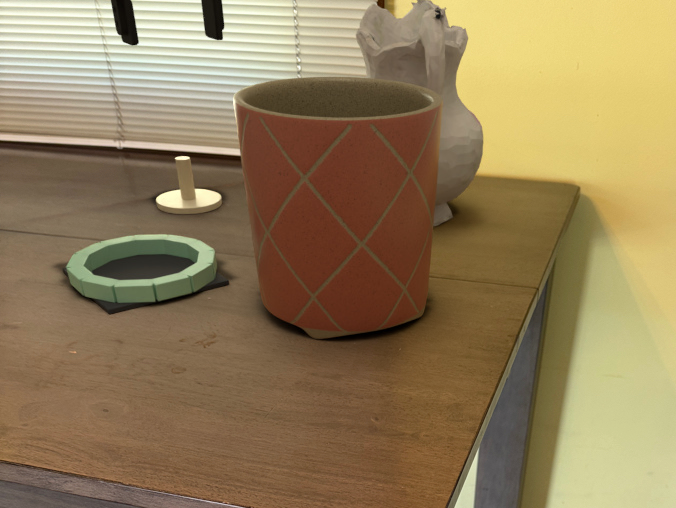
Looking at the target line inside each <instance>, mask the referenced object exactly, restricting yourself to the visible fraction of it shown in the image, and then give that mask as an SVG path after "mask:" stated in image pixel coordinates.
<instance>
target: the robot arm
mask: <svg viewBox="0 0 676 508" xmlns="http://www.w3.org/2000/svg"><path fill="white" fill-rule="evenodd" d="M200 4H201V10H202V12H201V13H202V18H203V27H204V35H205V37H207V38H208V39H211V40H215V41H223V40H224V33H223V31H224V30H225V18H224V8H223V0H200ZM110 5H111V9H112V15H113V20H114V25H115V30H116V33H117V35H118V36H120V37H121V41H122V42H123V43H124V44H127V45H130V46H138V44H139V43H140V41H139V40H140V39H139V35H138V29H137V22H136V16H135V11H134V6H133V5H134V4H133V1H132V0H110Z"/></svg>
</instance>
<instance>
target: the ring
mask: <svg viewBox="0 0 676 508" xmlns="http://www.w3.org/2000/svg"><path fill="white" fill-rule="evenodd" d="M155 254H167V255H173V256H178V257H183V258H189V259H190V260H192V261H193V262H195V264H193V265H192V266H190V267H188V268H187V269H185V270H183V271H181V272H180V273H176V274H172V275H168V276H163V277H159V278H155V279H141V280H116V279H111V278H106V277H101V276H96V275H93V274H92V270H94V269H96V268H98V267H100V266H102V265H104V264H106V263H108V262H110V261H112V260H117V259H121V258H126V257H131V256H135V255H155ZM217 267H218V263H217V255H216V251H215V249H214V248H213V247H211V246H210V245H208V244H207V243H205V242H203V241H201V240H200V239H197V238H194V237H187V236H183V235H182V236H181V235H177V234H167V233H159V234H157V233H156V234H155V233H154V234H133V235H126V236H120V237H115V238H110V239H106V240H101V241H99V242H95V243H93V244H90V245H88V246H85V247H84V248H83V249H80V250H78V251H76V252H74V253H73V254H72V255H71V257H70V259H69V261H68V263H67V264H66V265H65V268H66V269H67V273H68V276H69V277H68V276H67V277H68V279H69V283H70V285H71V286H72V287H74V289H75V290H76V291H77V292H78V293H80V294H81V295H82V296H84V297H86V298H91V299H92V298H94V299H99V300H104V301H108V302H113V303H115V302H118V303H134V302H155V301H156V299H157V300H158V301H160V302H162V301H161V300H164V301H166V300H165V299H168V300H170V299H169V298H172V299H174V298H173V297H176V298H178V297H177V296H180V297H182V296H181V295H184V296H186V295H185V294H188V295H190V294H189V293H192V292H195V291H197V290H199V289H200V288H202V287H203V286H205V285H207V284H208V283H210V282H211V281H213V280H214V278H215V276H216V272H217V269H218V268H217ZM192 294H193V293H192Z"/></svg>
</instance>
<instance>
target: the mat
mask: <svg viewBox="0 0 676 508" xmlns="http://www.w3.org/2000/svg"><path fill="white" fill-rule="evenodd" d="M193 264H195V262H193V261H192V260H190V259H189V258H183V257H178V256H173V255H167V254H155V255H135V256H131V257H126V258H121V259H117V260H112V261H110V262H108V263H106V264H104V265H102V266H100V267H98V268H96V269H94V270H92V274H93V275H96V276H101V277H106V278H111V279H116V280H141V279H155V278H159V277H163V276H168V275H172V274H176V273H180V272H181V271H183V270H185V269H187V268H188V267H190V266H192V265H193ZM62 273H63V274H65V275H66V277H68V278H69V276H68V273H67V269H66V267H63V268H62ZM227 285H228V286H229V285H230V280H229V279H227V278H226V277H225V276H223V275H221V274H220V273H219V272H217V271H216V276H215V278H214V280H213V281H211V282H210V283H208V284H207V285H205V286H203V287H202V288H200V289H199V290H197V291H195V292H192V293H189V294H185V295H181V296H177V297H173V298H169V299H165V300H161V301H158V300H157V299H156V301H155V302H134V303H118V302H115V303H113V302H108V301H104V300H99V299H94V298H91V299H92V301H94V302H95V303H96V304H97V305H98V306H99V307H100V308H102V310H103V311H104V312H106V313H107V314H108V315H112V314H115V313H116V314H117V313H119V312H125V311H128V310H132V309H135V308H140V307H144V306H148V305H153V304H157V303H160V302H164V301H169V300H172V299H176V298H181V297H184V296H188V295H192V294H196V293H201V292H204V291H208V290H213V289H216V288H221V287H225V286H227Z"/></svg>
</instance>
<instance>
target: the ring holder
mask: <svg viewBox="0 0 676 508" xmlns="http://www.w3.org/2000/svg"><path fill="white" fill-rule="evenodd" d="M174 161H175V166H176V167H175V168H176V172H177V179H178V185H179V186H178V187H179V189H176V190H175V189H174V190H171V191H167V192H164V193H161V194H159V195H158V196H157V197H156V199H155V203H156V207H157V209H158V210H160V211H162V212H165V213H169V214H174V215H196V214H197V215H198V214H203V213H208V212H211V211H214V210H217V209H219V208H220V207H221V206H222V204H223V200H222V195H221V194H220V193H219V192H216V191H214V190H210V189H204V188H196V187H195V181H194V175H193V168H192V162H191V157H190V156H185V155H180V156H176V157H175V158H174Z"/></svg>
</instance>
